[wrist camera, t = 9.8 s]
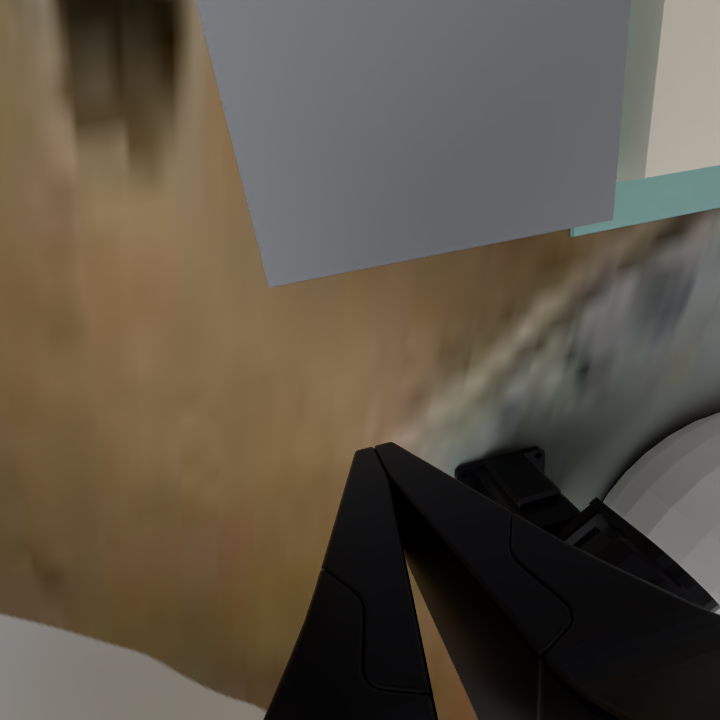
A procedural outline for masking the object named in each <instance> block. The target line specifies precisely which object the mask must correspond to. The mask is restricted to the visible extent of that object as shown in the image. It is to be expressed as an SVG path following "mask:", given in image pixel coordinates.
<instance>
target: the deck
mask: <svg viewBox="0 0 720 720" xmlns="http://www.w3.org/2000/svg"><path fill="white" fill-rule="evenodd" d="M196 4H197V8H198V11H199V15H200V19H201V23H202V27H203V31H204V35H205V39H206V43H207V47H208V51H209V55H210V58H211V62H212V66H213V70H214V74H215V78H216V82H217V86H218V90H219V94H220V98H221V102H222V106H223V109H224V113H225V117H226V121H227V125H228V129H229V133H230V137H231V141H232V145H233V149H234V153H235V157H236V160H237V164H238V168H239V172H240V176H241V180H242V184H243V188H244V192H245V196H246V200H247V204H248V208H249V211H250V215H251V219H252V223H253V227H254V231H255V235H256V239H257V243H258V247H259V251H260V255H261V259H262V262H263V266H264V270H265V274H266V278H267V282H268V286H269V287H274V286H279V285H284V284H289V283H295V282H300V281H305V280H310V279H315V278H320V277H325V276H330V275H335V274H340V273H346V272H351V271H356V270H361V269H366V268H371V267H376V266H381V265H386V264H391V263H397V262H402V261H407V260H412V259H417V258H422V257H427V256H432V255H437V254H442V253H448V252H453V251H458V250H463V249H468V248H473V247H478V246H483V245H488V244H494V243H499V242H504V241H509V240H514V239H519V238H524V237H529V236H534V235H539V234H545V233H550V232H555V231H560V230H565V229H570V228H575V227H580V226H585V225H590V224H596V223H601V222H606V221H611V220H613V215H614V202H615V190H616V178H617V165H618V153H619V141H620V128H621V116H622V104H623V91H624V79H625V67H626V54H627V42H628V30H629V17H630V5H631V0H196Z"/></svg>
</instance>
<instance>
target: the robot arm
mask: <svg viewBox="0 0 720 720" xmlns="http://www.w3.org/2000/svg"><path fill="white" fill-rule="evenodd" d="M536 453H537V454H536ZM544 462H545V453H544V451H543V450H542V449H541V448H540V447H538V446H535V447H531V448H527V449H524V450H520V451H516V452H512V453H509V454H505V455H501V456H498V457H494V458H490V459H487V460H483V461H479V462H475V463H472V464H468V465H464V466H461V467H459V468H457V469H456V471H455V478H453V477H451V476H449V475H448V474H446V473H444V472H443V471H441V470H439V469H437V468H436V467H434V466H432V465H431V464H429V463H427V462H425V461H424V460H422V459H420V458H419V457H417V456H415V455H413V454H412V453H410V452H408V451H407V450H405V449H403V448H402V447H400V446H398V445H396V444H395V443H393V442H388V443H384V444H380V445H377V446H375V448H373V447H369V448H365V449H361V450H357V451H356V452H355V454H354V458H353V461H352V465H351V468H350V471H349V475H348V478H347V482H346V485H345V489H344V492H343V495H342V499H341V502H340V506H339V509H338V513H337V516H336V519H335V523H334V526H333V530H332V533H331V537H330V540H329V543H328V547H327V550H326V554H325V557H324V561H323V564H322V570H321V571H320V574H319V577H318V580H317V584H316V587H315V591H314V594H313V597H312V600H311V603H310V606H309V609H308V612H307V615H306V618H305V621H304V624H303V626H302V629H301V631H300V634H299V636H298V639H297V641H296V644H295V646H294V649H293V651H292V654H291V656H290V659H289V661H288V663H287V666H286V668H285V670H284V673H283V675H282V677H281V680H280V682H279V684H278V687H277V689H276V691H275V694H274V696H273V698H272V701H271V703H270V706H269V708H268V710H267V713H266V715H265V718H264V720H438V717H437V712H436V707H435V703H434V698H433V692H432V687H431V683H430V678H429V673H428V668H427V663H426V658H425V653H424V648H423V643H422V638H421V634H420V629H419V624H418V619H417V614H416V609H415V604H414V599H413V594H412V589H411V585H410V580H409V575H408V570H407V565H406V561H407V563H408V565H409V567H410V570H411V572H412V574H413V576H414V579H415V581H416V583H417V585H418V587H419V590H420V592H421V594H422V596H423V598H424V601H425V603H426V605H427V607H428V609H429V612H430V614H431V616H432V618H433V620H434V623H435V625H436V627H437V629H438V631H439V634H440V636H441V638H442V640H443V643H444V645H445V647H446V649H447V651H448V654H449V656H450V658H451V660H452V662H453V665H454V667H455V669H456V671H457V673H458V676H459V678H460V680H461V682H462V684H463V687H464V689H465V691H466V693H467V695H468V698H469V700H470V702H471V704H472V707H473V709H474V711H475V713H476V715H477V718H478V720H720V615H719V614H717V613H715V612H716V611H717V610H718V609H720V605H719V604H718V603H717V602H716V601H715V599H714V598H713V597H712V596H711V595H710V594H709V593H708V592H707V591H706V590H705V589H704V588H703V587H702V586H701V585H700V584H699V583H698V582H697V581H696V580H695V579H694V578H693V577H692V576H690V575H689V574H688V573H687V572H686V571H685V570H684V569H683V568H682V567H681V566H680V565H679V564H678V563H676V562H675V561H674V560H673V559H672V558H671V557H670V556H669V555H667V554H666V553H665V552H664V551H663V550H662V549H661V548H659V547H658V546H657V545H656V544H655V543H653V542H652V541H651V540H650V539H649V538H647V537H646V536H645V535H644V534H642V533H641V532H640V531H638V530H637V529H636V528H635V527H633V526H632V525H631V524H630V523H628V522H627V521H626V520H625V519H623V518H622V517H621V516H619V515H618V514H617V513H616V512H614V511H613V510H612V509H611V508H609V507H608V506H607V505H606V504H604V503H603V502H602V501H601V500H599V499H598V498H597V497H596V498H595V499H593V500H592V501H591V502H590V503H589V504H590V505H589V506H588V507H587V508H585V509H584V510H583V511H582V512H580V511H579V510H578V509H577V508H576V507H575V506H574V505H573V504H572V503H571V502H570V501H569V500H568V499H567V498H566V497H565V496H564V495H563V494H562V493H561V490H560V489H559V488H558V487H557V486H556V485H555V484H554V483H553V482H552V481H551V480H550V479H549V478H548V477H547V476H546V475H545V474H544ZM463 473H464V474H463ZM461 474H463V475H461ZM405 559H406V560H405Z"/></svg>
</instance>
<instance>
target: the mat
mask: <svg viewBox="0 0 720 720" xmlns="http://www.w3.org/2000/svg"><path fill="white" fill-rule="evenodd" d="M715 208H720V165H718V166H712V167H706V168H700V169H695V170H689V171H683V172H677V173H671V174H666V175H660V176H654V177H648V178H642V179H635V180H627V181H620V182H616V190H615V202H614V215H613V220H611V221H606V222H601V223H596V224H590V225H585V226H580V227H575V228H570V236H571V237H574V236H579V235H584V234H589V233H594V232H599V231H604V230H609V229H614V228H619V227H624V226H630V225H635V224H640V223H645V222H650V221H655V220H660V219H665V218H670V217H675V216H680V215H685V214H690V213H695V212H700V211H705V210H710V209H715Z"/></svg>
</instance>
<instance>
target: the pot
mask: <svg viewBox="0 0 720 720" xmlns="http://www.w3.org/2000/svg"><path fill="white" fill-rule="evenodd" d="M603 503H604V504H606V505H607V506H608V507H609V508H611V509H612V510H613V511H614V512H616V513H617V514H618V515H619V516H621V517H622V518H623V519H625V520H626V521H627V522H628V523H630V524H631V525H632V526H633V527H635V528H636V529H637V530H638V531H640V532H641V533H642V534H644V535H645V536H646V537H647V538H649V539H650V540H651V541H652V542H653V543H655V544H656V545H657V546H658V547H659V548H661V549H662V550H663V551H664V552H665V553H666V554H667V555H669V556H670V557H671V558H672V559H673V560H674V561H675V562H676V563H678V564H679V565H680V566H681V567H682V568H683V569H684V570H685V571H686V572H687V573H688V574H689V575H690V576H692V577H693V578H694V579H695V580H696V581H697V582H698V583H699V584H700V585H701V586H702V587H703V588H704V589H705V590H706V591H707V592H708V593H709V594H710V595H711V596H712V597H713V598H714V599H715V601H716V602H717V603H718V604H719V605H720V412H719V413H716V414H713V415H711V416H708V417H705V418H703V419H700V420H697V421H695V422H693V423H691V424H689V425H687V426H685V427H684V428H682V429H680V430H678V431H676V432H675V433H673V434H671V435H669V436H668V437H666V438H665V439H664V440H662V441H661V442H660V443H658V444H657V445H656V446H654V447H653V448H652V449H650V450H649V451H648V452H646V453H645V454H644V455H643V456H642V457H641V458H640V459H639V460H638V461H637V462H636V463H635V464H634V465H633V466H631V467H630V468H629V469H628V470H627V471H626V472H625V473H624V475H623V476H622V477H621V478H620V479H619V481H618V482H617V483H616V484H615V486H614V487H613V488H612V489H611V491H610V492H609V493H608V494H607V496H606V498H605V499H604V501H603ZM715 613H717V614H719V615H720V609H718V610H717V611H716V612H715Z"/></svg>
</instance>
